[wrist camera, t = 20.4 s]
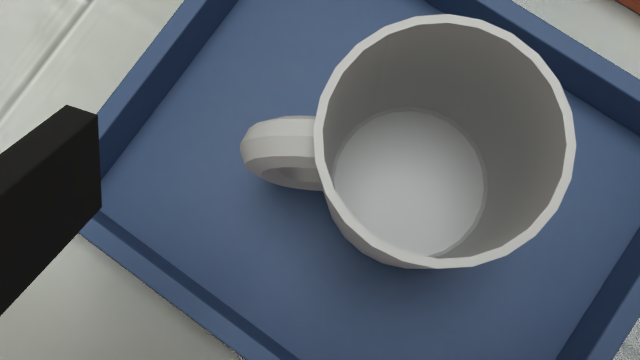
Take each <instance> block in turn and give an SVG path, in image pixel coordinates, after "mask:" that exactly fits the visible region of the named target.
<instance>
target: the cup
mask: <svg viewBox="0 0 640 360" xmlns="http://www.w3.org/2000/svg"><path fill="white" fill-rule="evenodd" d="M575 152H576V139H575V131H574V123H573V115H572V111H571V108H570V106H569V103H568V101H567V99H566V96H565V94H564V91H563V89H562V86H561V84H560V82H559V80H558V79H557V77H556V76H555V75H554V74H553V72H552V71H551V70H550V68H549V67H548V66H547V64H546V63H545V62H544V60H543V59H542V58H541V57H540V55H539V54H538V53H536V52H535V51H534V50H533V49H531V48H530V47H529V46H528V45H526V44H525V43H524V42H523V41H521V40H520V39H519V38H517V37H516V36H515V35H514V34H512V33H510V32H508V31H506V30H503V29H501V28H499V27H497V26H494V25H492V24H490V23H488V22H485V21H483V20H480V19H474V18H469V17H463V16H458V15H452V14H441V15H427V16H415V17H412V18H409V19H406V20H403V21H400V22H397V23H394V24H391V25H387V26H384V27H383V28H381V29H380V30H378V31H377V32H375V33H374V34H372V35H370V36H369V37H367V38H366V39H364V40H363V41H361V42H360V43H358V44H357V45H356V46H355V47H354V48H353V49H352V50H351V51H350V52H349V53H348V55H347V56H346V57H345V58H344V59H343V60H342V61H341V62H340V63H339V64H338V65H337V66H336V68H335V69H334V71H333V73H332V75H331V77H330V79H329V81H328V83H327V85H326V87H325V88H324V90H323V92H322V94H321V96H320V100H319V105H318V109H317V114H316V116H284V117H279V118H274V119H270V120H266V121H262V122H258V123H256V124H254V125H253V126H251V127H250V128H249V129H248V131H247V133H246V135H245V136H244V138H243V140H242V142H241V144H240V153H241V156H242V159H243V162H244V165H245V167H246V168H247V169H248V170H249V172H251V173H253V174H255V175H257V176H259V177H261V178H263V179H265V180H267V181H269V182H271V183H274V184H277V185H280V186H284V187H290V188H295V189H304V190H314V191H323V193H324V196H325V199H326V202H327V205H328V208H329V211H330V214H331V218H332V219H333V221H334V222H335V224H336V225H337V227H338V229H339V230H340V232H341V233H342V235H343V236H344V238H346V239H347V240H348V241H349V242H350V243H351V244H352V245H353V246H354V247H356V248H357V249H358V250H359V251H360V252H361V253H363V254H365V255H367V256H369V257H371V258H372V259H374V260H376V261H378V262H380V263H382V264H386V265H391V266H396V267H401V268H405V269H441V268H458V267H473V266H476V265H479V264H482V263H485V262H488V261H491V260H495V259H498V258H501V257H504V256H506V255H508V254H509V253H511V252H512V251H514V250H515V249H517V248H518V247H520V246H521V245H523V244H524V243H526V242H527V241H529V240H530V239H532V238H533V237H535V236H536V235H537V233H538V232H539V231H540V230H541V229H542V227H543V226H544V225H545V224H546V223H547V222H548V220H549V219H550V218H551V217H552V216H553V215H554V213H555V212H556V211H557V210H558V208H559V205H560V203H561V201H562V199H563V196H564V194H565V192H566V190H567V188H568V185H569V183H570V181H571V178H572V172H573V165H574V158H575Z"/></svg>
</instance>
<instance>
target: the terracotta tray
mask: <svg viewBox="0 0 640 360" xmlns="http://www.w3.org/2000/svg"><path fill="white" fill-rule="evenodd" d="M617 1H619V2H620V3H622V4H624V5H625V6H627V7H629V8H630V9H632V10H634V11H635V12H637V13H639V14H640V0H617Z"/></svg>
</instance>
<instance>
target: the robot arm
mask: <svg viewBox="0 0 640 360" xmlns="http://www.w3.org/2000/svg"><path fill="white" fill-rule="evenodd" d="M101 208H102V193H101V171H100V150H99V129H98V115H96V114H93V113H90V112H87V111H84V110H81V109H78V108H75V107H72V106H69V105H66V106H64V107H63V108H62V109H60V110H59V111H58V112H56V113H55V114H54V115H52V116H51V117H50V118H48V119H47V120H46V121H44V122H43V123H42V124H40V125H39V126H37V127H36V128H35V129H33V130H32V131H31V132H29V133H28V134H27V135H25V136H24V137H23V138H21V139H20V140H19V141H17V142H16V143H15V144H13V145H12V146H11V147H9V148H8V149H7V150H5V151H4V152H3V153H1V154H0V316H1V315H2V314H3V313H4V312H5V311H6V309H7V308H8V307H9V306H10V305H11V304H12V303H13V302H14V301H15V300H16V299H17V298H18V297H19V296H20V294H21V293H22V292H23V291H24V290H25V289H26V288H27V287H28V286H29V285H30V284H31V283H32V282H33V281H34V280H35V278H36V277H37V276H38V275H39V274H40V273H41V272H42V271H43V270H44V269H45V268H46V267H47V266H48V265H49V263H50V262H51V261H52V260H53V259H54V258H55V257H56V256H57V255H58V254H59V253H60V252H61V251H62V250H63V249H64V247H65V246H66V245H67V244H68V243H69V242H70V241H71V240H72V239H73V238H74V237H75V236H76V235H77V234H78V232H79V231H80V230H81V229H82V228H83V227H84V226H85V225H86V224H87V223H88V222H89V221H90V220H91V219H92V218H93V216H94V215H95V214H96V213H97V212H98V211H99V210H100V209H101Z"/></svg>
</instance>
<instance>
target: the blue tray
mask: <svg viewBox="0 0 640 360" xmlns="http://www.w3.org/2000/svg"><path fill="white" fill-rule="evenodd" d="M441 14H452V15H458V16H463V17H469V18H474V19H480V20H483V21H485V22H488V23H490V24H492V25H494V26H497V27H499V28H501V29H503V30H506V31H508V32H510V33H512V34H514V35H515V36H516V37H517V38H519V39H520V40H521V41H523V42H524V43H525V44H526V45H528V46H529V47H530V48H531V49H533V50H534V51H535V52H536V53H538V54H539V55H540V57H541V58H542V59H543V60H544V62H545V63H546V64H547V66H548V67H549V68H550V70H551V71H552V72H553V74H554V75H555V76H556V77H557V79H558V80H559V82H560V84H561V86H562V89H563V91H564V94H565V96H566V99H567V101H568V103H569V106H570V108H571V111H572V115H573V123H574V131H575V139H576V152H575V158H574V165H573V172H572V178H571V181H570V183H569V185H568V188H567V190H566V192H565V194H564V196H563V199H562V201H561V203H560V205H559V208H558V210H557V211H556V212H555V213H554V215H553V216H552V217H551V218H550V219H549V220H548V222H547V223H546V224H545V225H544V226H543V227H542V229H541V230H540V231H539V232H538V233H537V235H536V236H535V237H533V238H532V239H530V240H529V241H527V242H526V243H524V244H523V245H521V246H520V247H518V248H517V249H515V250H514V251H512V252H511V253H509V254H508V255H506V256H504V257H501V258H498V259H495V260H491V261H488V262H485V263H482V264H479V265H476V266H473V267H458V268H441V269H405V268H401V267H396V266H391V265H386V264H382V263H380V262H378V261H376V260H374V259H372V258H371V257H369V256H367V255H365V254H363V253H361V252H360V251H359V250H358V249H357V248H356V247H354V246H353V245H352V244H351V243H350V242H349V241H348V240H347V239H346V238H344V236H343V235H342V233H341V232H340V230H339V229H338V227H337V225H336V224H335V222H334V221H333V219H332V218H331V214H330V211H329V208H328V205H327V202H326V199H325V196H324V193H323V191H314V190H304V189H295V188H290V187H284V186H280V185H277V184H274V183H271V182H269V181H267V180H265V179H263V178H261V177H259V176H257V175H255V174H253V173H251V172H249V170H248V169H247V168H246V167H245V165H244V162H243V159H242V156H241V153H240V144H241V142H242V140H243V138H244V136H245V135H246V133H247V131H248V129H249V128H250V127H251V126H253V125H254V124H256V123H258V122H262V121H266V120H270V119H274V118H279V117H284V116H316V114H317V109H318V105H319V100H320V96H321V94H322V92H323V90H324V88H325V87H326V85H327V83H328V81H329V79H330V77H331V75H332V73H333V71H334V69H335V68H336V66H337V65H338V64H339V63H340V62H341V61H342V60H343V59H344V58H345V57H346V56H347V55H348V53H349V52H350V51H351V50H352V49H353V48H354V47H355V46H356V45H357V44H358V43H360V42H361V41H363V40H364V39H366V38H367V37H369V36H370V35H372V34H374V33H375V32H377V31H378V30H380V29H381V28H383V27H384V26H387V25H391V24H394V23H397V22H400V21H403V20H406V19H409V18H412V17H415V16H427V15H441ZM96 115H98V129H99V150H100V171H101V193H102V208H101V209H100V210H99V211H98V212H97V213H96V214H95V215H94V216H93V218H92V219H91V220H90V221H89V222H88V223H87V224H86V225H85V226H84V227H83V228H82V229H81V230H80V231H79V232H78V233H79V234H80V235H82V236H83V237H84V238H86V239H87V240H88V241H90V242H91V243H92V244H94V245H95V246H96V247H97V248H99V249H100V250H101V251H103V252H104V253H105V254H107V255H108V256H109V257H111V258H112V259H113V260H115V261H116V262H117V263H119V264H120V265H121V266H123V267H124V268H125V269H127V270H128V271H129V272H131V273H132V274H133V275H135V276H136V277H137V278H138V279H140V280H141V281H142V282H144V283H145V284H146V285H148V286H149V287H150V288H152V289H153V290H154V291H156V292H157V293H158V294H160V295H161V296H162V297H164V298H165V299H166V300H168V301H169V302H170V303H172V304H173V305H174V306H176V307H177V308H178V309H179V310H181V311H182V312H183V313H185V314H186V315H187V316H189V317H190V318H191V319H193V320H194V321H195V322H197V323H198V324H199V325H201V326H202V327H203V328H205V329H206V330H207V331H209V332H210V333H211V334H213V335H214V336H215V337H217V338H218V339H219V340H221V341H222V342H223V343H224V344H226V345H227V346H228V347H230V348H231V349H232V350H234V351H235V352H236V353H238V354H239V355H240V356H242V357H243V358H244V359H246V360H613V358H614V356H615V355H616V353H617V352H618V350H619V348H620V347H621V345H622V344H623V342H624V340H625V339H626V337H627V336H628V334H629V332H630V331H631V329H632V328H633V326H634V324H635V323H636V321H637V320H638V318H639V316H640V80H639V79H637V78H636V77H634V76H633V75H631V74H629V73H628V72H626V71H624V70H623V69H621V68H620V67H618V66H616V65H615V64H613V63H612V62H610V61H608V60H607V59H605V58H603V57H602V56H600V55H599V54H597V53H595V52H594V51H592V50H590V49H589V48H587V47H586V46H584V45H582V44H581V43H579V42H578V41H576V40H574V39H573V38H571V37H569V36H568V35H566V34H565V33H563V32H561V31H560V30H558V29H556V28H555V27H553V26H552V25H550V24H548V23H547V22H545V21H544V20H542V19H540V18H539V17H537V16H535V15H534V14H532V13H531V12H529V11H527V10H526V9H524V8H522V7H521V6H519V5H518V4H516V3H514V2H513V1H511V0H185V1H184V2H183V3H182V4H181V6H180V7H179V8H178V10H177V11H176V12H175V13H174V15H173V16H172V17H171V19H170V20H169V21H168V22H167V24H166V25H165V26H164V28H163V29H162V30H161V32H160V33H159V34H158V35H157V37H156V38H155V39H154V41H153V42H152V43H151V44H150V46H149V47H148V48H147V50H146V51H145V52H144V53H143V55H142V56H141V57H140V59H139V60H138V61H137V63H136V64H135V65H134V66H133V68H132V69H131V70H130V72H129V73H128V74H127V75H126V77H125V78H124V79H123V81H122V82H121V83H120V84H119V86H118V87H117V88H116V90H115V91H114V92H113V94H112V95H111V96H110V97H109V99H108V100H107V101H106V103H105V104H104V105H103V106H102V108H101V109H100V110H99V112H98V113H97V114H96Z"/></svg>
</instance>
